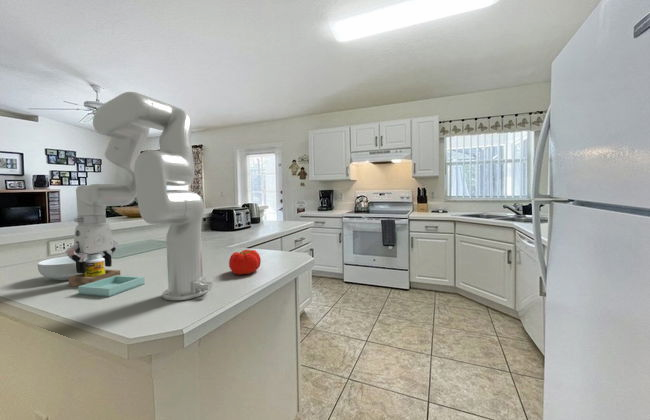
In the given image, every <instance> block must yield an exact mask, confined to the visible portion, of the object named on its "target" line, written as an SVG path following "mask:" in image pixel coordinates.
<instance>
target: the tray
mask: <svg viewBox="0 0 650 420" xmlns="http://www.w3.org/2000/svg"><path fill="white" fill-rule="evenodd" d="M143 285H145V276H133V275H120V276H119V275H116V276H112V277H109V278H105V279H102V280H98V281H95V282H92V283H88V284H85V285H81V286H77V292H78V293H77V294H78V295H82V296H91V297H93V296H94V297H102V298H103V297H105V298H111V297H114V296H117V295H119V294H121V293H124V292H127V291H129V290H133V289H136V288H138V287H141V286H143Z"/></svg>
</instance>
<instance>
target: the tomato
mask: <svg viewBox="0 0 650 420" xmlns="http://www.w3.org/2000/svg"><path fill="white" fill-rule="evenodd" d="M261 261H262V260H261V255H260V254H259V252H258V251H256V250H255V249H244V250H242V251H235V252H233V253H232V254H231V256H230V257H229V260H228V267H229V269H230V270H231V272H232V273H233V274H235V275H238V276H242V275H250V274H252V273H253V272H256V271H257V270H258V269H259V268H260V267H261V263H262V262H261Z"/></svg>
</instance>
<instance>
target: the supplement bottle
mask: <svg viewBox="0 0 650 420" xmlns="http://www.w3.org/2000/svg"><path fill="white" fill-rule="evenodd" d="M102 254H103V252H98V253H93V254H87V260H85V262H86V273H85V277H95V276H99V275H102V274H105V270H106V266H105V259H104V258H103V255H102Z"/></svg>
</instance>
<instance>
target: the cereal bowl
mask: <svg viewBox="0 0 650 420" xmlns="http://www.w3.org/2000/svg"><path fill="white" fill-rule="evenodd" d="M85 260H87V255H86V257H85V259H84V260H83V261H85ZM37 270H38V273H39V274H40V275H41V276H43V277H45V278H48V279H53V280H56V281H69V279H68V277H70V276H74V275H78V274H82V273H77V271H76V262H74V261H73V260H72V259H71V258H69V256H68V255H66V256H61V257H60V256H58V257H54V258H48V259H45V260H42V261H38V262H37Z"/></svg>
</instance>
